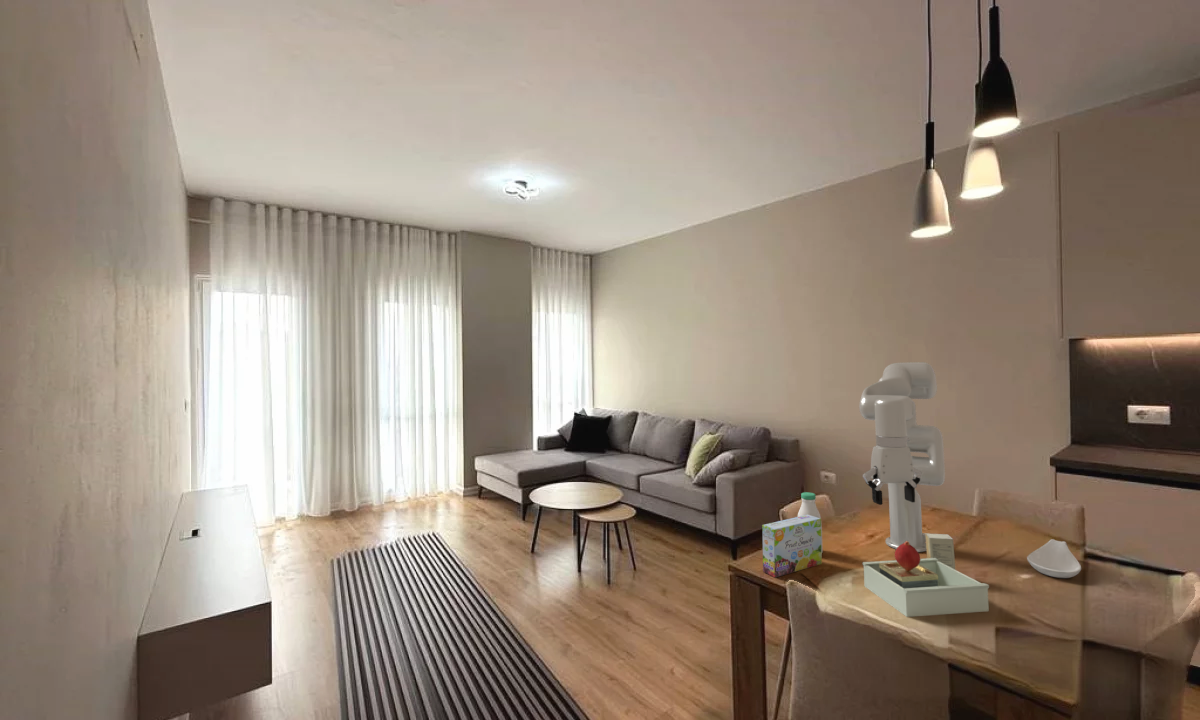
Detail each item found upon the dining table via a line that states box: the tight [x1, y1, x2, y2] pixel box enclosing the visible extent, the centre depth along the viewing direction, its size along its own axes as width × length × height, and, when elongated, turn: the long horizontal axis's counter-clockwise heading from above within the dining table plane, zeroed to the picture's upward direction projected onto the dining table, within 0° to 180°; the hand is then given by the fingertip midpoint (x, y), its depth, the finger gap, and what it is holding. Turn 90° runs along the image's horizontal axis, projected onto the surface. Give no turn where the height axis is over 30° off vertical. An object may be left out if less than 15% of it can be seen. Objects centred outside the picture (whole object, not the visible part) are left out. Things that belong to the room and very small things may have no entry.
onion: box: [894, 541, 921, 571], centre depth 130 cm, size 6×6×8 cm
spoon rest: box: [1026, 538, 1082, 579], centre depth 147 cm, size 24×12×7 cm, turn 132°
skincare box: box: [924, 532, 956, 570], centre depth 144 cm, size 6×4×12 cm
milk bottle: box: [797, 491, 824, 553], centre depth 166 cm, size 8×8×20 cm
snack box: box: [761, 515, 823, 578], centre depth 153 cm, size 21×6×15 cm, turn 117°
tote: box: [862, 557, 990, 618], centre depth 130 cm, size 22×18×7 cm
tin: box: [879, 562, 938, 589], centre depth 129 cm, size 10×9×8 cm
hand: (893, 502), depth 136 cm, fingers open, 9 cm apart
